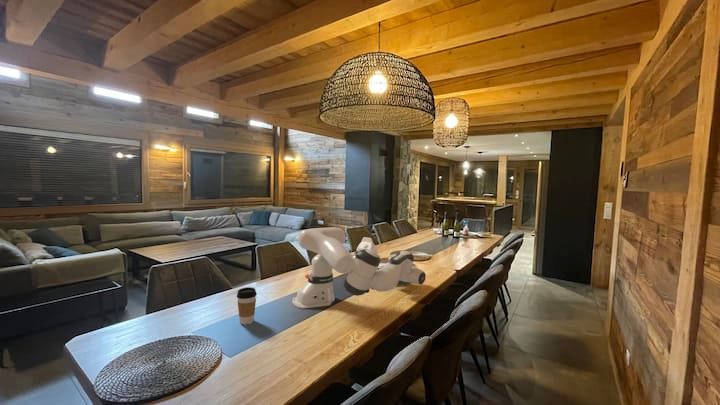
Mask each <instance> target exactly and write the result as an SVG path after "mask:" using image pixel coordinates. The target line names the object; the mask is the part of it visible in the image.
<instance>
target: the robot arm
mask: <svg viewBox="0 0 720 405" xmlns="http://www.w3.org/2000/svg"><path fill="white" fill-rule="evenodd" d="M297 241H298V244H299V246H300V247H301V249H303V250H308V251H311V252H313V253H316V255H314V256H313V258H312V259H311V273H310V274H308V273H306V274H305V275H304V278H306V279H307V281H305V283H304V284H303V285H302V286H301V287H299V288H298V289H297V291H296V292H297V293H296V296H295V297H294V296H293V298H292V300H291V302H292V304H293V305H294V306H295V307H296V308H299V309H309V308H310V309H311V308H319V307H320V308H321V307H327V306H331V305H332V303H333V302H334V301H335V299H336V298H335V294H334V289H333V282H334V273H333V270H335V271H336V272H337V273H338V274H346V273H347V276H346V278H344V279H345V280H344V284H343V287H344V289H345V291H347V292H348V293H349V294H351V295H353V296H356V297H359V296H362V295H364V294H368V293H370V289H371V288H373V289H372V290H374V291H377V292H388V291H391V290H393V289H395V288H396V287H397V286H398V285H402V286H409V285H411V284H412V283H413V284H416V285H419V286H420V285H421V286H422V285H423V284H424V283H425V282H426V277H427V276H426V272H425V271H424V270H422V269H421V268H418V267H417V266H416V264H415V263H414V260H415V256H414V254H413V253H412V252H410V251H408V250H400V251H399V252H397V253H396V255H394V256H392V258H391V259H390V260H389V259H388V261H387V262H386V263H385V265H384V266H382V267H381V268H379V266H380V263H381V258H380V255H379V254H378V255H377V254H376V253H375V252H374V251H372V250H368V249H363V250H360V251H355V252H354V255H353V254H351V252H350V251H349V250H348V249H347V248H346V247H345V246H344V243H345V242H346V234H345V231H344V230H343V229H342V228H341V227H335V226H332V227H313V228H307V229H304V230H302V231H300V233H299V234H298V240H297ZM377 267H378V270H377ZM376 270H377V271H376ZM398 283H399V284H398Z"/></svg>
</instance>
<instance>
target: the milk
mask: <svg viewBox="0 0 720 405" xmlns="http://www.w3.org/2000/svg"><path fill="white" fill-rule="evenodd" d="M363 249H368V250H372V251H374V252H375V253H376V254H377V255H378V256H379V254H378V253H379V252H378V251H379V250H378V247H377V246H376V244H375V243H374V241H373V238H371V237H368V236H367V237H365V236H364V237H362V239H361V242H360V243H359V244H358V246H357V248H356V251H360V250H363ZM356 251H355V252H356ZM377 270H379V266H378V267H377ZM377 270H376V271H377Z"/></svg>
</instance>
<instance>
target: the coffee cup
mask: <svg viewBox="0 0 720 405" xmlns="http://www.w3.org/2000/svg"><path fill="white" fill-rule="evenodd" d="M256 296H257V291H256V288H254V287H243V288H242V287H241V288H240V289H238V290H237V293H236V298H237V311H238V316H239V324H240V325H241V324H243V325H242V326H247V325H246V324H249V325H251V324H253V323H254V322H255V313H256V311H255V310H256V300H257V297H256ZM253 321H254V322H253ZM252 322H253V323H252Z"/></svg>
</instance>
